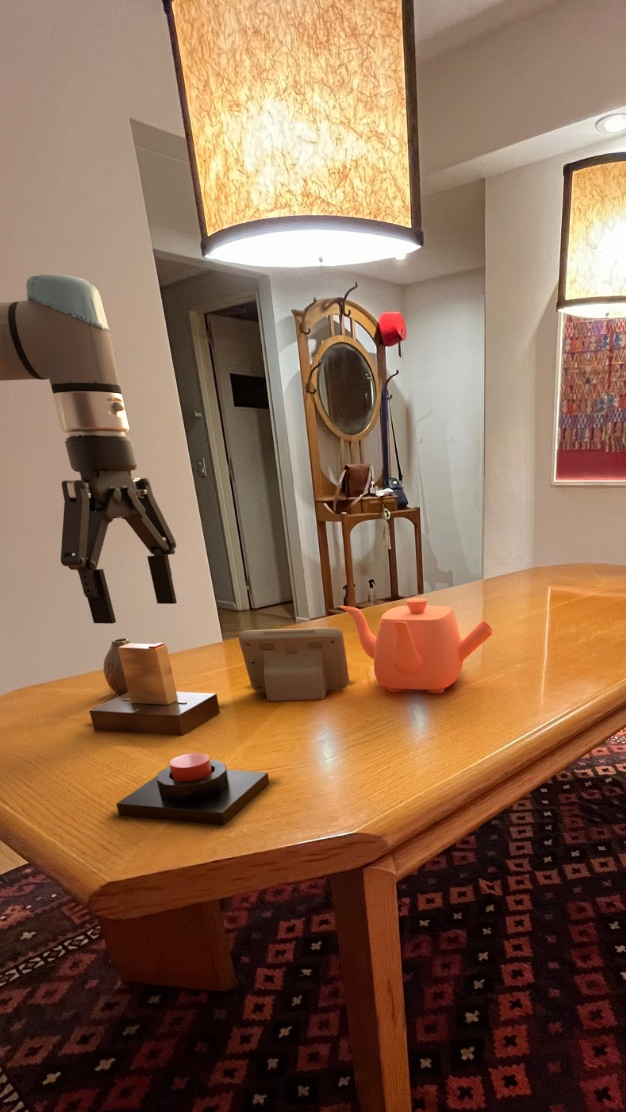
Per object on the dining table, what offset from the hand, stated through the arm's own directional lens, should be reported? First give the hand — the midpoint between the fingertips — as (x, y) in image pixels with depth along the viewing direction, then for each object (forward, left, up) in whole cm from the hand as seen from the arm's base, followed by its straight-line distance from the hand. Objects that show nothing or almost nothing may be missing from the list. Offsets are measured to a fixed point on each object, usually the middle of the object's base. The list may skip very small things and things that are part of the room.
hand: (138, 612), depth 92 cm
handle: (0, 0, -12) cm, 12 cm away
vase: (-13, +12, -16) cm, 24 cm away
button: (+21, -24, -12) cm, 34 cm away
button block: (+21, -24, -16) cm, 36 cm away
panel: (0, 0, -16) cm, 16 cm away
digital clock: (+15, +16, -16) cm, 27 cm away
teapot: (+33, +23, -16) cm, 43 cm away
